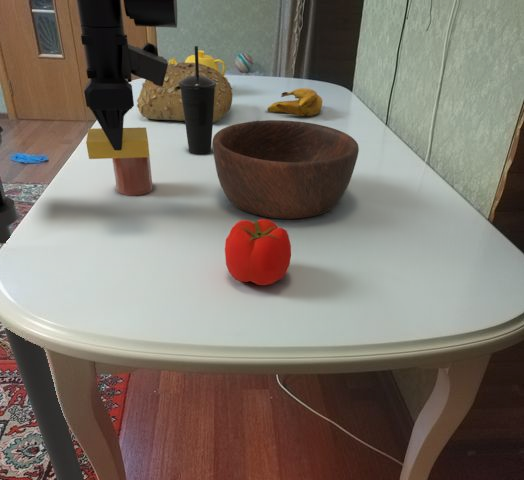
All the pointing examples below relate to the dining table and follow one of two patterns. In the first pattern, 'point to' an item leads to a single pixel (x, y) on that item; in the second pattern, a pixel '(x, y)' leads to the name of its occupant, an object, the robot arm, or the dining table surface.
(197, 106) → the drinking cup
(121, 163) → the cup
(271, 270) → the tomato
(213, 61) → the teapot
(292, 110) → the banana
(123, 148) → the block
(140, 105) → the bread
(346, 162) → the wooden bowl
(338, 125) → the dining table surface
